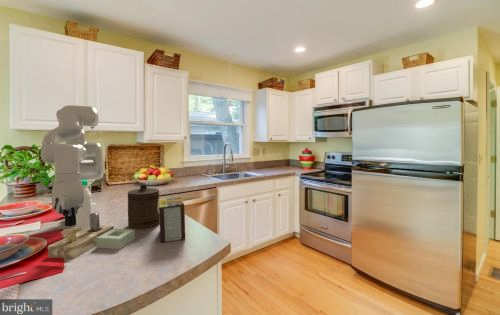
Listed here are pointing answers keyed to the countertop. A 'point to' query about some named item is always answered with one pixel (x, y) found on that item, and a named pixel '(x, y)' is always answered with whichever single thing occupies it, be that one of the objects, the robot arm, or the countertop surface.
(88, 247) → the socket block
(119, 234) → the pale green square block
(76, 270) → the countertop surface
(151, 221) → the wooden container
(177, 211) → the protein box
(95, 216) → the silver cylinder
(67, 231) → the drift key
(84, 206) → the water bottle
